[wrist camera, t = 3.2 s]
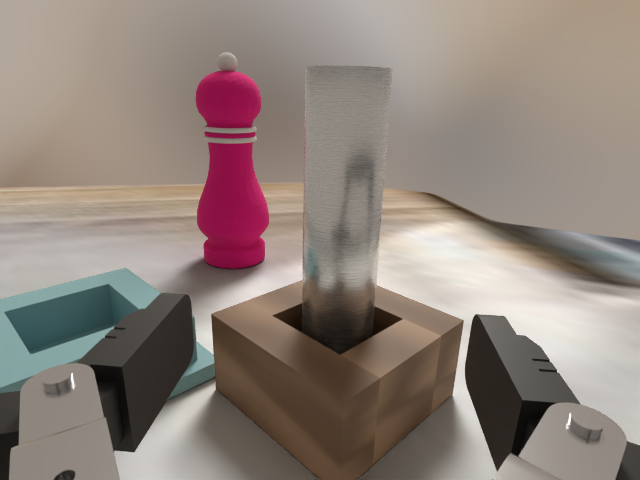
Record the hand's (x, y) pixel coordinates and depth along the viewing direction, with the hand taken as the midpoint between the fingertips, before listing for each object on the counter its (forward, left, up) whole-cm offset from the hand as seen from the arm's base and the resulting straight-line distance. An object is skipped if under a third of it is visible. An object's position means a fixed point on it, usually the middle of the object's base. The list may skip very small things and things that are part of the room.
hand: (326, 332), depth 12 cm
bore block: (-8, -7, -11) cm, 15 cm away
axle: (-8, -7, -11) cm, 15 cm away
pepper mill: (-16, -29, -11) cm, 35 cm away
